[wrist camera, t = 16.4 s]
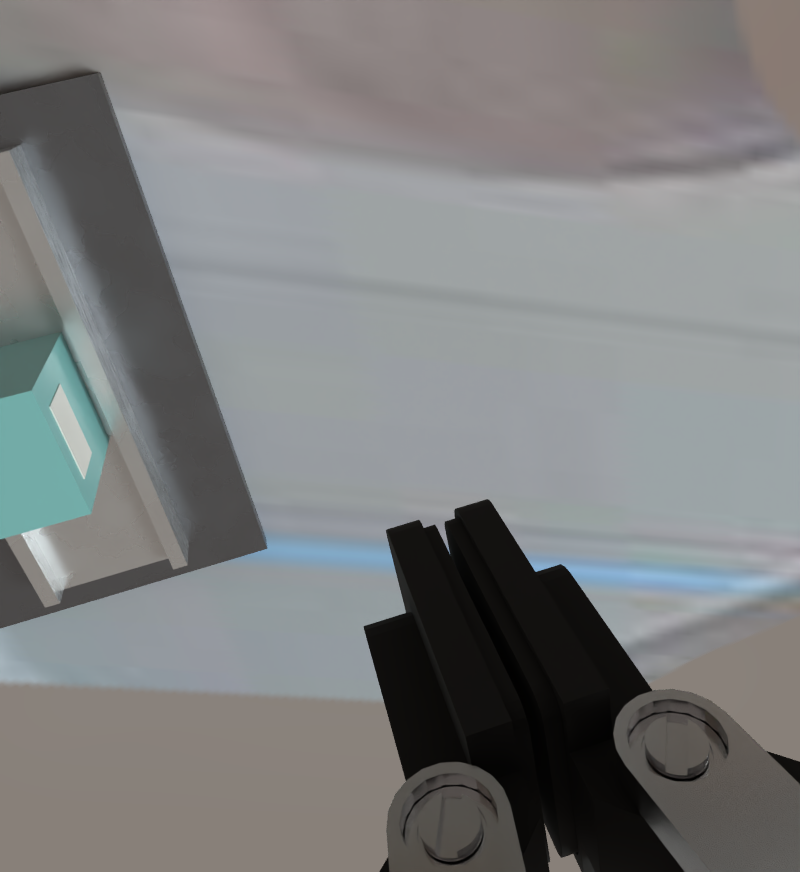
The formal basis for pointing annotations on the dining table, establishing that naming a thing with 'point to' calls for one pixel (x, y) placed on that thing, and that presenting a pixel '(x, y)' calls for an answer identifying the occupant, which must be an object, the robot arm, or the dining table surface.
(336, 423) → the dining table surface
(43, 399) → the block
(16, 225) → the rail board
